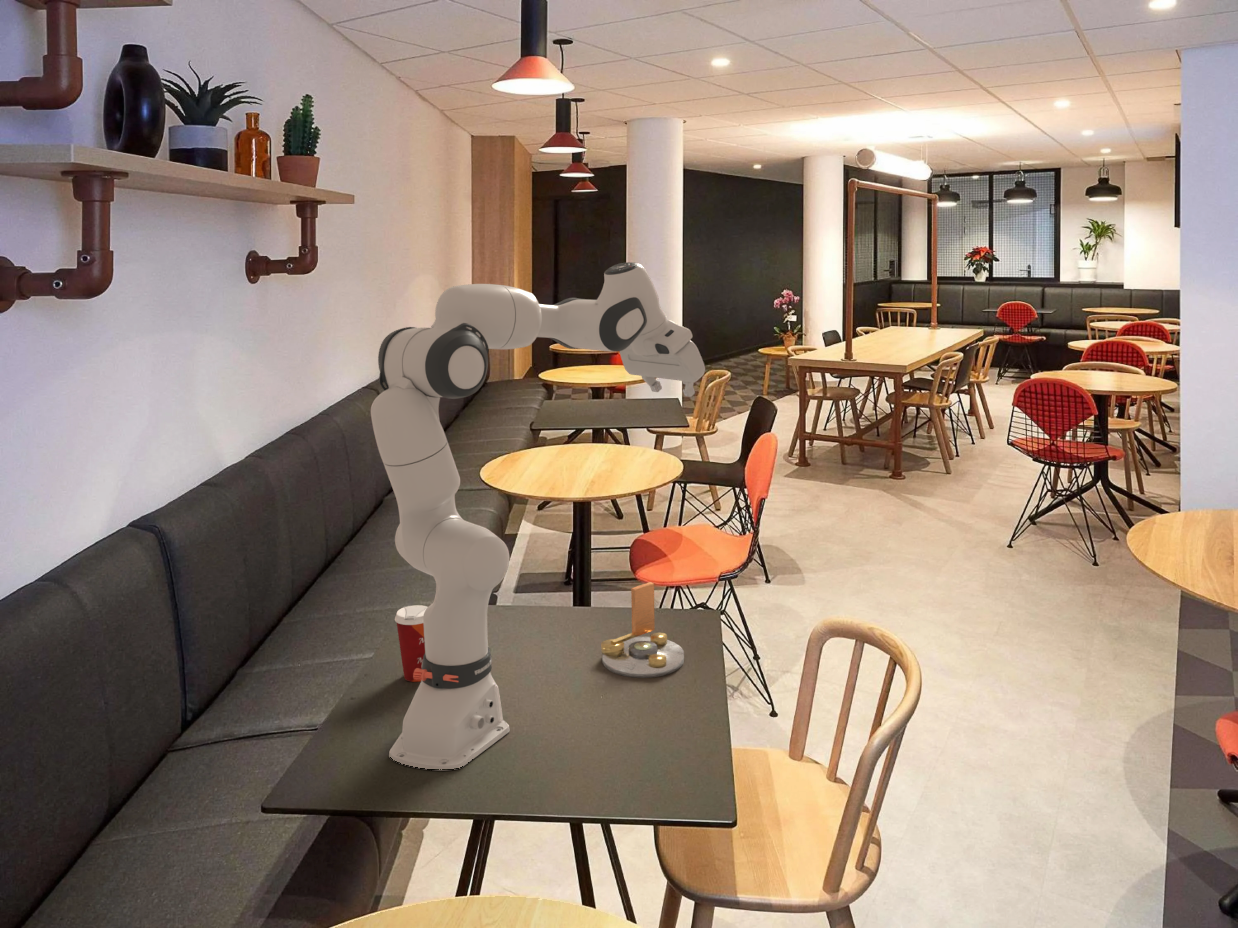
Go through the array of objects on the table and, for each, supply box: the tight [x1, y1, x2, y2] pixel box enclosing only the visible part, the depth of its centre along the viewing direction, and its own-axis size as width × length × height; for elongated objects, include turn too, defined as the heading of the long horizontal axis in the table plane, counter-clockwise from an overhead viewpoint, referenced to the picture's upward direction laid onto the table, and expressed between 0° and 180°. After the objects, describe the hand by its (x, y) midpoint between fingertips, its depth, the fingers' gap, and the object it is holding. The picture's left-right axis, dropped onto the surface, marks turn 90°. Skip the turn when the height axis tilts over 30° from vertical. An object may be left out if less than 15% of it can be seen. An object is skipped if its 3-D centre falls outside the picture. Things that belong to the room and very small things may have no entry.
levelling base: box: [601, 632, 685, 679], centre depth 199 cm, size 17×17×3 cm
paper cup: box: [394, 604, 429, 683], centre depth 192 cm, size 8×8×14 cm
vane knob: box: [600, 581, 656, 656], centre depth 201 cm, size 14×5×12 cm, turn 131°
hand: (673, 392), depth 198 cm, fingers open, 8 cm apart
